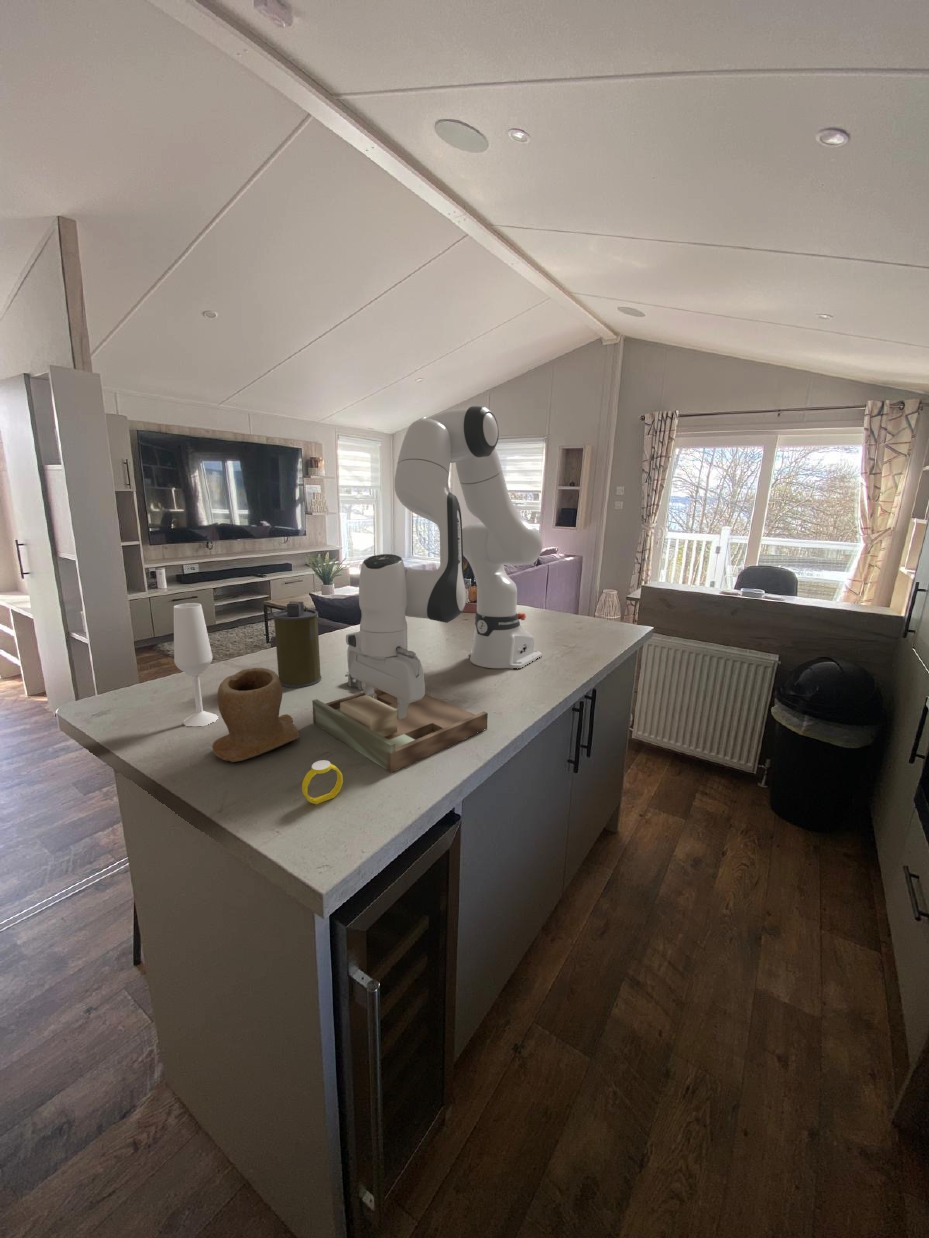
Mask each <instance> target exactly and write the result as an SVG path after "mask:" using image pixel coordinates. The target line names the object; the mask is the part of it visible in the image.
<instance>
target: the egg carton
mask: <svg viewBox="0 0 929 1238" xmlns="http://www.w3.org/2000/svg"><path fill="white" fill-rule="evenodd" d="M344 677H345V678H347V684H348V685H347V686H349V688H350V687H351V688H352V687H356V688H357V690H359V691H362V690H363V688H362V685H361V681H360V680H357V679H355V678H353V677H351V675H350V672H349V670H347V671H346V673H345V675H344ZM363 691H364V690H363Z"/></svg>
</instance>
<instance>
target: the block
mask: <svg viewBox="0 0 929 1238" xmlns="http://www.w3.org/2000/svg"><path fill="white" fill-rule="evenodd" d="M340 713H342V714H344V715H346V716H347V717H349V718H351V719H353V720H355V721H356V722H358V723H360V724H362V725H363V726H365V727H367V728H369V729H370V730H372V731H374V732H376V733H377V734H379V735H381V736H383V737H385V736H388V735H390V734H393V733H396V732H397V709H395V708H393V707H391V706H388V705H386V704H384V703H382V702H380V701H378V700H376V699H374V698H372V697H370V696H368V695H364V696H360V697H357V698H354V699H351V700H347V701H344V702H341V703H340Z"/></svg>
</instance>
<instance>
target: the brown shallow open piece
mask: <svg viewBox="0 0 929 1238" xmlns="http://www.w3.org/2000/svg"><path fill="white" fill-rule="evenodd" d="M373 689H374V692H375V694H377V700H378V701H380V702H382V703H384V704H386V705H388V706H391V707H393V708H398V705H399V703H398V702H397V698H396V697H394V696H392V695H390V694H388V693H386V692H383V691H381V690H379V689H377V688H373ZM364 695H365V693H364V691H363V692H360V693H355V694H353V695H349V696H346V697H343V698H339V699H337V700H336V699H335V700H333V701H330V702H327V703H325V702H323V701H321V700H320V699H317V698H316V699H313V700H312V717H313V718H312V719H313V721H312V722H313V724H314V725H316V726H317V727H318V728H320V729H322V730H323V731H325V732H326V733H328V734H330V735H331V736H332V737H334V738H335V739H337V740H339V741H341V742H343V743H344V744H345V745H346V746H348V747H349V748H352V750H355V751H356V752H358V753H360V754H361V755H363V756H364V757H365V758H368V759H369V760H370V761H371V762H373V763H375V764H376V765H378V766H380V767H381V768H383V769H385V770H386V771H387V772H389V773H393V772H396V771H398V770H400V769H402V768H405V767H407V766H409V765H411V764H413V763H416V762H417V761H420V760H423V759H425V758H427V757H429V756H431V755H433V754H435V753H437V752H440V751H441V750H444V749H446V747H447V748H449V747H451V746H453V745H455V744H457V742H458V743H459V741H460V742H461V740H462V741H464V740H466V739H468V738H467V737H469V736H471V737H473V736H475V735H477V734H478V733H477V732H480V731H482V730H484V729H486V730H488V717H489V716H488V712H486V711H482V712H480V713H477V714H474V713H472V712H470V711H468V710H465V709H463V708H460V707H458V706H455V705H453V704H451V703H448V702H446V701H445V700H441V699H439V698H437V697H434V696H433V695H430V694H427V693H425V695H424V697H423V698H422V699H421V700H418V701H415V702H412V703H409V705H408V707H407V709H406V717H405V718H403V719H399V718H397V732H396V733H393V734H390V735H388V736H385V737H383V736H381V735H379V734H377V733H376V732H374V731H372V730H370V729H369V728H367V727H365V726H363V725H362V724H360V723H358V722H356V721H355V720H353V719H351V718H349V717H347V716H346V715H344V714H342V713H340V703H341V702H344V701H347V700H351V699H354V698H357V697H360V696H364ZM484 731H485V730H484ZM482 732H483V731H482ZM476 733H477V734H476ZM480 733H481V732H480ZM474 734H475V735H474ZM472 735H473V736H472ZM465 738H466V739H465ZM469 738H470V737H469ZM463 739H464V740H463ZM448 746H449V747H448Z"/></svg>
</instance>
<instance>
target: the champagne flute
mask: <svg viewBox="0 0 929 1238" xmlns="http://www.w3.org/2000/svg"><path fill="white" fill-rule="evenodd" d="M204 615H205V614H204V610H203V606H202V604H201V603H197V602H192V603H191V602H189V603H188V602H186V603H180V604H177V605H174V606H173V661H174V662H173V663H174V665H175V666H176V667H177V669H179V670H180V671H182V672H183V673H185V674H186V675H188V676H190V677H192V685H193V693H194V701H195V710H196V711H195V712H194V713H193V714H191V715H190V716H188V717H187V718H185V719H184V720H183V721H184V724H185V725H186V726H202V727H205V726H208V724H209V725H211V724H210V723H212V722H214V723H216V722H217V721H218V720H219V718H218V717H219V715H218V714H215V713H212V712H208V711H205V710H204V709H203V699H202V692H201V691H202V690H201V682H200V675H202V674H203V673H204V672H205V670H206V669H208V668H209V666H210V665H211V663H212V661H213V652H212V648H211V644H210V639H209V635H208V630H207V625H206V620H205V617H204ZM217 715H218V716H217ZM217 719H218V720H217ZM216 720H217V721H216ZM212 724H213V723H212ZM186 726H185V727H186Z"/></svg>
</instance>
